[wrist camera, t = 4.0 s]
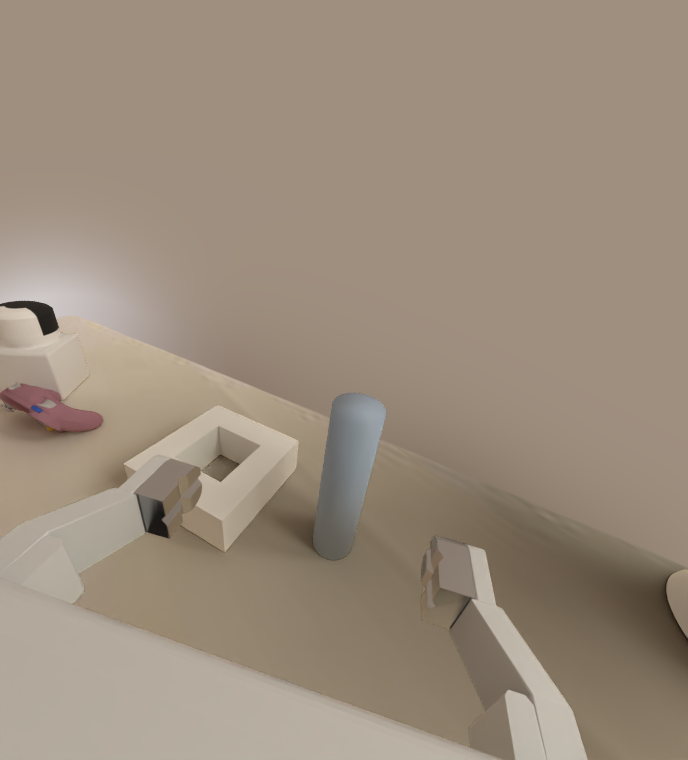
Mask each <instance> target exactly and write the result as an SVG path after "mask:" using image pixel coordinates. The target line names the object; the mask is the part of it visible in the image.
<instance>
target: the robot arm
mask: <svg viewBox="0 0 688 760" xmlns="http://www.w3.org/2000/svg"><path fill="white" fill-rule="evenodd" d="M200 475H201V472H200V467H197V466H194V465H191V464H188V463H185V462H181V461H178V460H175V459H172V458H169V457H166V456H162V455H159V454H158V455H156V456H154V457H152V458H151V459H150V460H149V461H148V462H147V463H145V464H144V465H143V466H142V467H141V468H140V469H139V470H138V471H137V472H135V473H134V474H133V475H132V476H131V477H130V478H129V479H128V480H127V481H125V482H124V483H123V484H122V485H121V486H120V487H119V488H118V489H117V488H111V489H108V490H106V491H103V492H101V493H98V494H95V495H93V496H90V497H88V498H85V499H82V500H80V501H77V502H75V503H72V504H70V505H67V506H64V507H62V508H59V509H57V510H54V511H51V512H49V513H46V514H44V515H41V516H38V517H36V518H33V519H31V520H28V521H26V522H23V523H20V524H19V525H18V526H17V527H15V528H14V529H13V530H11V531H10V532H9V533H7V534H6V535H5V536H4V537H2V538H1V539H0V760H588V759H587V756H586V753H585V749H584V746H583V743H582V740H581V736H580V733H579V730H578V727H577V723H576V720H575V717H574V714H573V711H572V709H571V707H570V706H569V704H568V703H567V701H566V700H565V699H564V697H563V696H562V694H561V693H560V691H559V690H558V688H557V687H556V686H555V684H554V683H553V681H552V680H551V678H550V677H549V675H548V674H547V673H546V671H545V670H544V668H543V667H542V665H541V664H540V663H539V661H538V660H537V658H536V657H535V655H534V654H533V652H532V651H531V650H530V648H529V647H528V645H527V644H526V642H525V641H524V639H523V638H522V637H521V635H520V634H519V632H518V631H517V629H516V628H515V626H514V625H513V624H512V622H511V621H510V619H509V618H508V616H507V615H506V613H505V612H504V611H503V609H502V608H501V607H498V606H496V602H495V597H494V592H493V587H492V582H491V577H490V572H489V567H488V562H487V557H486V553H485V551H484V550H483V549H481V548H477V547H474V546H470V545H466V544H465V543H461V542H457V541H454V540H450V539H447V538H443V537H439V536H436V535H435V536H434V537H433V538H432V540H431V542H430V544H431V549H428V550H426V552H425V555H424V557H423V562H422V568H421V582H422V584H423V586H424V588H425V590H424V592H423V593H422V595H421V620H423V621H425V622H428V623H431V624H434V625H437V626H440V627H442V628H445V629H448V630H450V631H449V632H450V635H451V637H452V639H453V641H454V643H455V645H456V648H457V650H458V652H459V654H460V656H461V659H462V661H463V663H464V665H465V667H466V669H467V672H468V674H469V676H470V678H471V680H472V683H473V685H474V687H475V689H476V691H477V693H478V696H479V698H480V700H481V702H482V704H483V707H484V709H485V712H484V713H483V714H482V715H481V716H479V717H478V718H477V719H476V720H475V721H474V722H473V723H472V724H471V725H470V726H469V738H470V747H467V746H464V745H462V744H459V743H456V742H453V741H450V740H448V739H445V738H442V737H439V736H437V735H434V734H431V733H428V732H426V731H423V730H420V729H417V728H415V727H412V726H409V725H406V724H403V723H401V722H398V721H395V720H392V719H390V718H387V717H384V716H381V715H379V714H376V713H373V712H370V711H368V710H365V709H362V708H359V707H356V706H354V705H351V704H348V703H345V702H343V701H340V700H337V699H334V698H332V697H329V696H326V695H323V694H321V693H318V692H315V691H312V690H309V689H307V688H304V687H301V686H298V685H296V684H293V683H290V682H287V681H285V680H282V679H279V678H276V677H274V676H271V675H268V674H265V673H262V672H260V671H257V670H254V669H251V668H249V667H246V666H243V665H240V664H238V663H235V662H232V661H229V660H226V659H224V658H221V657H218V656H215V655H213V654H210V653H207V652H204V651H202V650H199V649H196V648H193V647H191V646H188V645H185V644H182V643H179V642H177V641H174V640H171V639H168V638H166V637H163V636H160V635H157V634H155V633H152V632H149V631H146V630H143V629H141V628H138V627H135V626H132V625H130V624H127V623H124V622H121V621H119V620H116V619H113V618H110V617H107V616H105V615H102V614H99V613H96V612H94V611H91V610H88V609H85V608H83V607H80V606H77V605H74V604H73V603H74V602H75V601H76V600H77V599H78V598H79V597H80V595H81V594H82V593H83V592H84V588H85V585H84V583H83V581H82V579H81V577H80V575H79V573H81V572H83V571H84V570H86V569H88V568H89V567H91V566H93V565H94V564H96V563H98V562H99V561H101V560H102V559H104V558H106V557H107V556H109V555H111V554H112V553H114V552H116V551H117V550H119V549H121V548H122V547H124V546H126V545H127V544H129V543H131V542H132V541H134V540H136V539H137V538H139V537H141V536H142V535H144V534H145V533H146V532H148V533H151V534H155V535H158V536H162V537H165V538H169V539H170V538H171V536H172V535H173V534H174V533H175V531H176V530H177V529H178V527H179V526H180V525H181V524H182V522H183V514H185V513H187V512H189V511H191V510H192V509H193V508H194V507H195V505H196V504H197V502H198V500H199V498H200V496H201V492H202V483H201V482H200V480H199V479H198V477H199V476H200ZM666 591H667V598H668V601H669V604H670V607H671V609H672V612H673V614H674V616H675V618H676V620H677V622H678V624H679V625H680V627H681V629H682V630H683V632H684V633H685V635H686V636H687V638H688V569H685V570H681V571H677V572H675V573H673V574H672V575H671V576H670V577H669V579H668V581H667V587H666Z"/></svg>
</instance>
